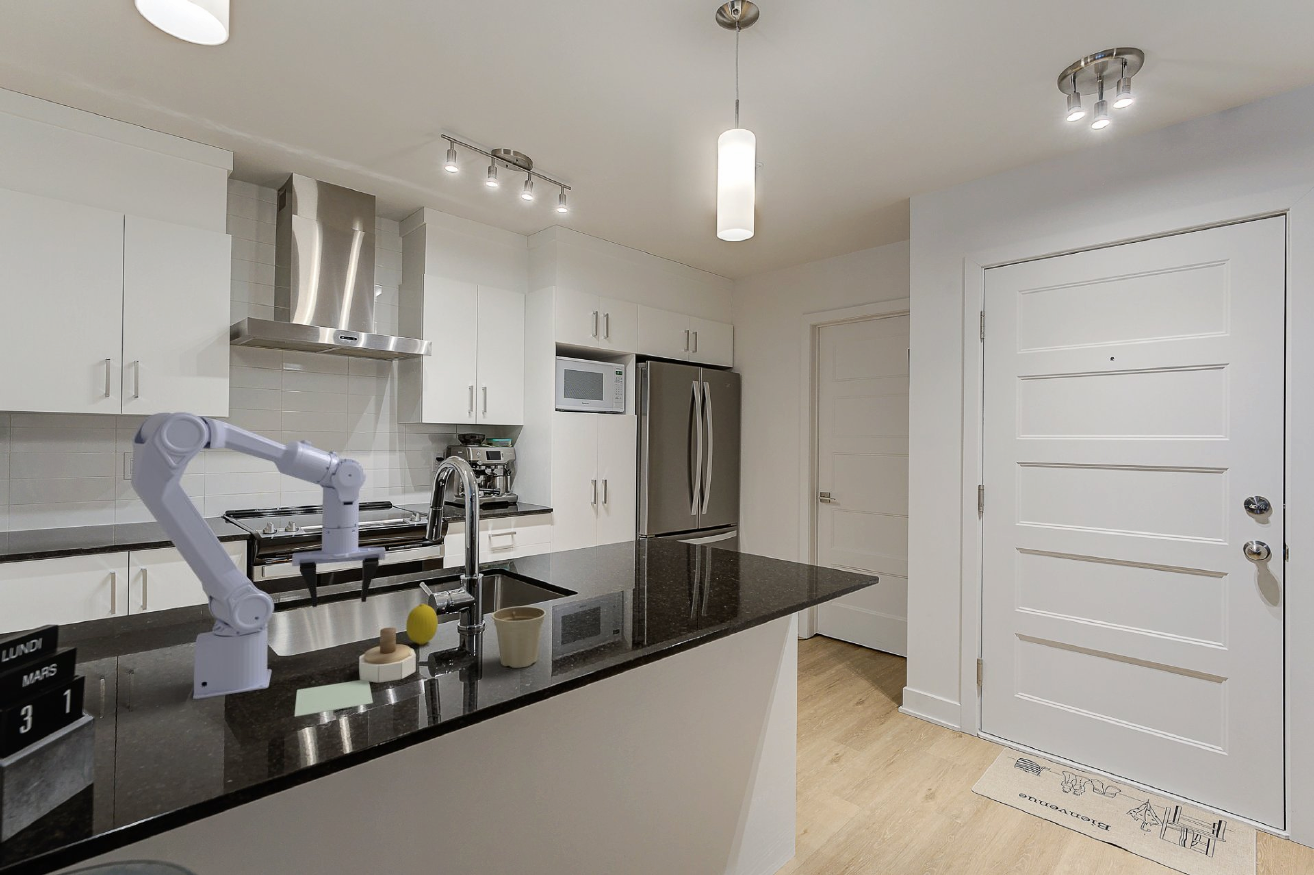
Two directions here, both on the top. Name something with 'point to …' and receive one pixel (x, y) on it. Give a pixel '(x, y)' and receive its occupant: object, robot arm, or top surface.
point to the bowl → (387, 669)
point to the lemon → (422, 624)
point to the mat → (332, 697)
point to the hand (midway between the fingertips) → (339, 603)
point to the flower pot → (518, 634)
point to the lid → (387, 649)
